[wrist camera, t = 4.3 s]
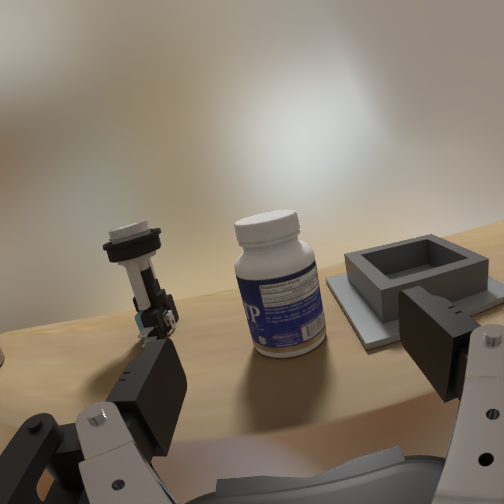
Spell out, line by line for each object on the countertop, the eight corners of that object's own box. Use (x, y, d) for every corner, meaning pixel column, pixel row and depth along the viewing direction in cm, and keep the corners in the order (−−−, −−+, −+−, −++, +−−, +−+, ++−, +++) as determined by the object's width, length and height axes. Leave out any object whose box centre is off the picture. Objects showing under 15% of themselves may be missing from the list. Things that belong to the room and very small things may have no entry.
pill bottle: (249, 332, 24) (221, 221, 22) (313, 315, 25) (293, 204, 23) (260, 368, 19) (226, 232, 17) (338, 345, 20) (317, 210, 18)
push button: (176, 349, 24) (136, 226, 22) (120, 355, 25) (79, 242, 22) (193, 314, 30) (165, 214, 28) (145, 321, 31) (116, 227, 29)
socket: (366, 350, 18) (363, 307, 18) (326, 282, 31) (321, 253, 30) (515, 297, 17) (518, 259, 17) (438, 254, 30) (436, 227, 29)
